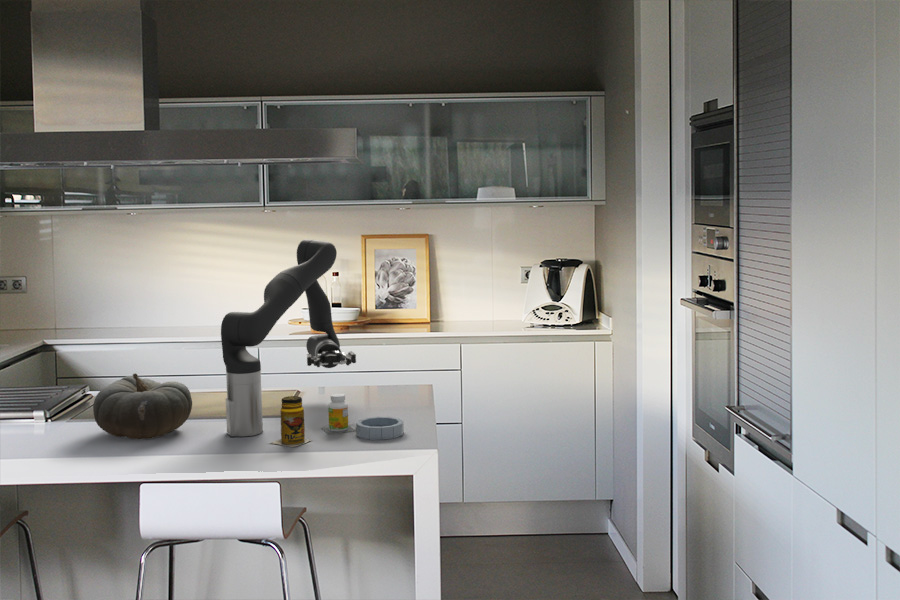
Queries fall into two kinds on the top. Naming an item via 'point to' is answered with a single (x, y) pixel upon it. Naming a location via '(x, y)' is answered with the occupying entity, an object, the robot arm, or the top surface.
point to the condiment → (292, 422)
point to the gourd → (142, 407)
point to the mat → (339, 431)
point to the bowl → (379, 428)
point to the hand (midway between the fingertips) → (333, 362)
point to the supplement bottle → (338, 413)
